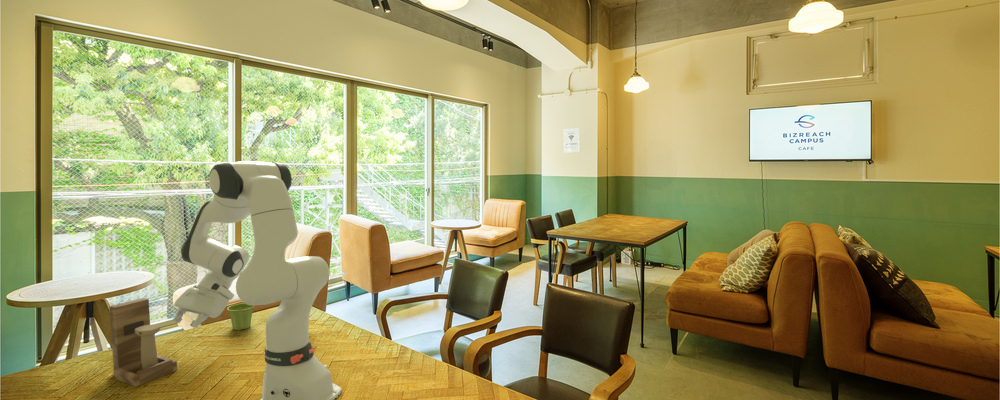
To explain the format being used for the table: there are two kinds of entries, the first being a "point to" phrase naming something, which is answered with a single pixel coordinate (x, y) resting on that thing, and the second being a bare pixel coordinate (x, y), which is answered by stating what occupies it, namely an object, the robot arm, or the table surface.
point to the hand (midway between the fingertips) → (184, 324)
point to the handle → (148, 344)
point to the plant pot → (240, 315)
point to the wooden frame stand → (133, 344)
